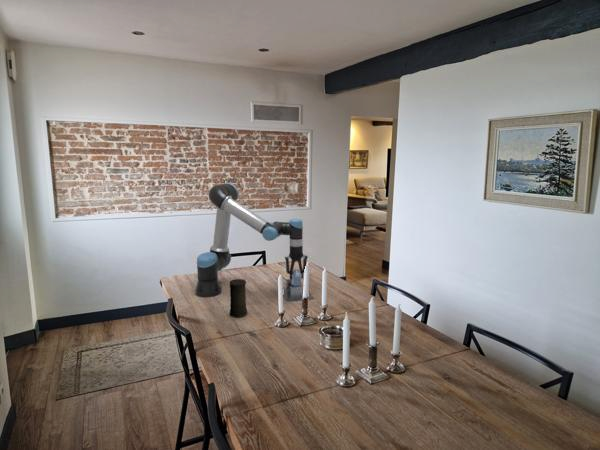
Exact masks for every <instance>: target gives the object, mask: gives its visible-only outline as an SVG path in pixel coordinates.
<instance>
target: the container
mask: <svg viewBox="0 0 600 450" xmlns="http://www.w3.org/2000/svg"><path fill="white" fill-rule="evenodd" d="M246 284H247V281H246V280H245V279H244V278H235V279H231V280H230V281H229V288H230V289H229V292H230V293H229V295H230V301H229V303H230V304H229V305H230V309H229V316H230V317H231V318H235V319H236V318H237V319H238V318H243V317H246V316H247V315H248V309H247V302H246V301H247V299H246V297H247V296H246V290H247V289H246Z"/></svg>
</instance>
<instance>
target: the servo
mask: <svg viewBox="0 0 600 450" xmlns="http://www.w3.org/2000/svg"><path fill="white" fill-rule="evenodd" d="M293 274H294V286H301V282H302V278H301V277H302V276H301V272H300V269H297V270H296V269H293Z"/></svg>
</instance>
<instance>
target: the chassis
mask: <svg viewBox="0 0 600 450" xmlns="http://www.w3.org/2000/svg"><path fill="white" fill-rule="evenodd" d="M302 283H303V281H301V286H294V285H292V284H291V279H290V278H287V279H285V287H283V288H284V296H283V298H284V299H285V301H286V302H287V303H289V302H295V301H297V302H298V301H303V300H302V294H303V286H304V285H302ZM314 299H315V298H314V296H313V295H312V294H311V293H310V292H309V299H308V300H314Z"/></svg>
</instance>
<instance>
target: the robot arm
mask: <svg viewBox="0 0 600 450" xmlns="http://www.w3.org/2000/svg"><path fill="white" fill-rule="evenodd" d="M239 195H240V193H239V190H238V188H237V186H236V185H234V184H232V183H228V182H227V183H226V182H225V183H221V184H215V185H213V186H212V187H211V188H210V189H209V191H208V198H209V201H210V203H211V204H212V205H214V206H215V207H216V215H215V224H214V235H213V243H212V245H211V246H210V247H209V248H210V250H209V252H207V251H206V252H203V253H201V254H199V255H198V256H197V258H196V267H197V268H196V269H197V283H196V287H195V292H194V293H195V295H196V296H197V297H203V298H211V297H215V296H218V295H220V294H222V286H221V284H220V281H219V271H221V270H223V269H225V268H226V267H228V266H229V265H230V263H231V261H232V255H231V253H230V248H229V247H228V243H229V242H228V241H229V235H230V234H229V233H230V224H231V216H233V217H235V218H236V219H237V220H239V221H241V222H243V224H245V225H248V226H249V227H251V228H252V229H253V230H255V231H257V232H258V233H259V234H261V235H262V237H263V239H264V240H265V241H267V242H269V241H270V242H271V241H274V240H276V239H277V238H278V237H280V236H289V254H288V255H286V256H284V259H285V267H286V269H285V271H286V273H287V275H288V274H289V279H291V284H292V285H294V274H293V270H294V268H295V263H296V262H297V263H298V268H299V269H298V270H299V271H300V272H301V276H302V277H301V279H303V278H304V273H305V272H304V269H305V266H306V267H307V260H308V256H307V254H304V253H303V251H304V249H303V241H304V240H303V229H304V228H303V220H302V219H300V218H291V219H289V221H287V222H286V221H271V222H269V221H267V220H266V219H264V218H262V217H261V216H259V215H258V214H256V213H255V212H253V211H252V210H250V209H248V208H247V207H246V206H244V205H243V204H241V203H240V202H238V201H237V199H238V198H239ZM302 258H303V260H302ZM290 260H291V261H290Z"/></svg>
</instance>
